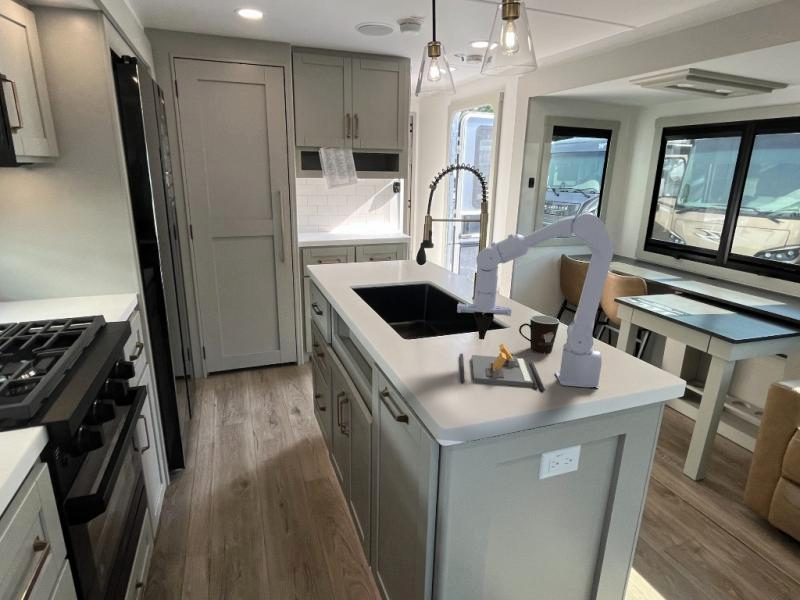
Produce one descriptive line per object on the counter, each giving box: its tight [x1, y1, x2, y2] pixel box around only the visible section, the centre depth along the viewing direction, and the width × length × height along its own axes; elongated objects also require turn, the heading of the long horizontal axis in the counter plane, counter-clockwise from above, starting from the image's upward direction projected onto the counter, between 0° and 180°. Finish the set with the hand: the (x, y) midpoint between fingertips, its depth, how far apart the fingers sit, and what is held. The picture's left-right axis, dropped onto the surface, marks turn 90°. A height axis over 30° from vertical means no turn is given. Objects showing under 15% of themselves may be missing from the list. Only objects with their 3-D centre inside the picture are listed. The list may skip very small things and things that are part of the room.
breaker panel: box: [471, 352, 534, 388], centre depth 126 cm, size 15×16×3 cm
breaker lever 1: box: [498, 343, 514, 361], centre depth 129 cm, size 1×4×5 cm
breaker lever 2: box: [492, 351, 507, 370], centre depth 121 cm, size 1×4×5 cm, turn 174°
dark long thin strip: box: [525, 360, 539, 390], centre depth 124 cm, size 1×17×1 cm, turn 173°
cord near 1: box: [528, 359, 546, 392], centre depth 124 cm, size 1×19×1 cm, turn 173°
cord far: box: [459, 352, 466, 384], centre depth 127 cm, size 1×19×1 cm, turn 174°
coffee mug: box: [518, 314, 560, 355], centre depth 143 cm, size 12×9×10 cm
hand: (481, 338), depth 129 cm, fingers closed
